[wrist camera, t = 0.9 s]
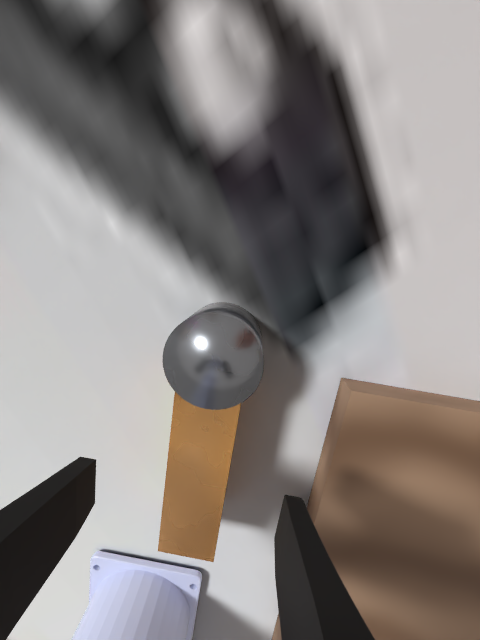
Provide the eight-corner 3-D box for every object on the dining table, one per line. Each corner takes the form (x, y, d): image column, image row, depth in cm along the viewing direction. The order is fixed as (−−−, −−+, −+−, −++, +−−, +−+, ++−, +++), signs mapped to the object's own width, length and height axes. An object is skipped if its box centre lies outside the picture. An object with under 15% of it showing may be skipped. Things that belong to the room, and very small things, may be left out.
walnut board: (483, 683, 18) (556, 816, 14) (271, 640, 19) (276, 756, 14) (630, 427, 13) (811, 503, 9) (341, 377, 14) (381, 428, 9)
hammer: (232, 502, 16) (226, 564, 13) (168, 489, 16) (145, 548, 13) (268, 309, 13) (272, 323, 10) (189, 296, 14) (167, 305, 10)
